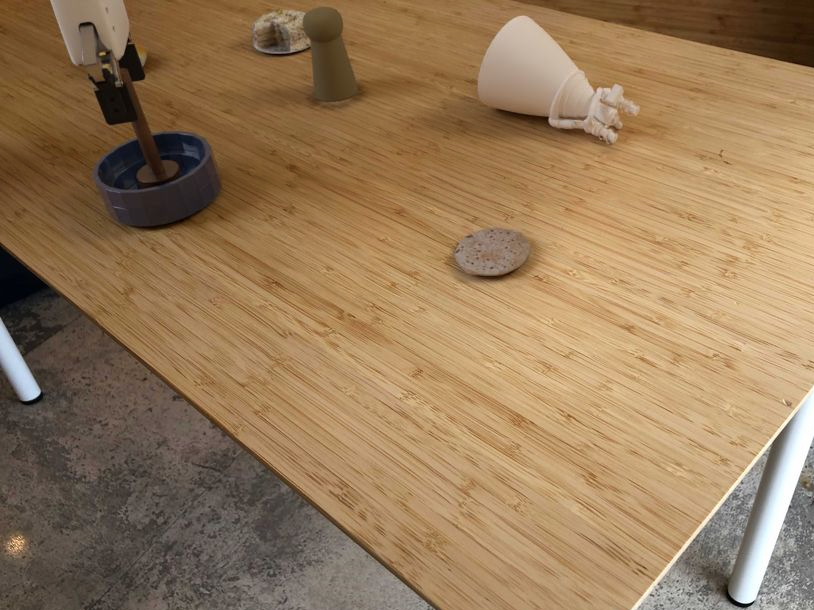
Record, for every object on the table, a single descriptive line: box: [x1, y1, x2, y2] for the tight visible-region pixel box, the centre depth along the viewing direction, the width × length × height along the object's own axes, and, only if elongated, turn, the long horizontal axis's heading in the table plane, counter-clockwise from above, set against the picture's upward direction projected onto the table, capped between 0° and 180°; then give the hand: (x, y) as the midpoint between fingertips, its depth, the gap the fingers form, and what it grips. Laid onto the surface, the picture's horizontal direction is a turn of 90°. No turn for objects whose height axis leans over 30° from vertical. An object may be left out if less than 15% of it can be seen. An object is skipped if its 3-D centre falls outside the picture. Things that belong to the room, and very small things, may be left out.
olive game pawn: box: [303, 6, 359, 102], centre depth 112 cm, size 6×6×11 cm
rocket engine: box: [477, 15, 641, 145], centre depth 102 cm, size 12×12×18 cm
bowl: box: [91, 130, 222, 227], centre depth 98 cm, size 13×13×5 cm
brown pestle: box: [120, 68, 183, 189], centre depth 94 cm, size 5×5×15 cm
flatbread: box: [454, 226, 532, 277], centre depth 86 cm, size 8×8×1 cm
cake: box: [251, 8, 311, 55], centre depth 128 cm, size 10×10×5 cm
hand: (127, 100), depth 92 cm, fingers open, 9 cm apart
